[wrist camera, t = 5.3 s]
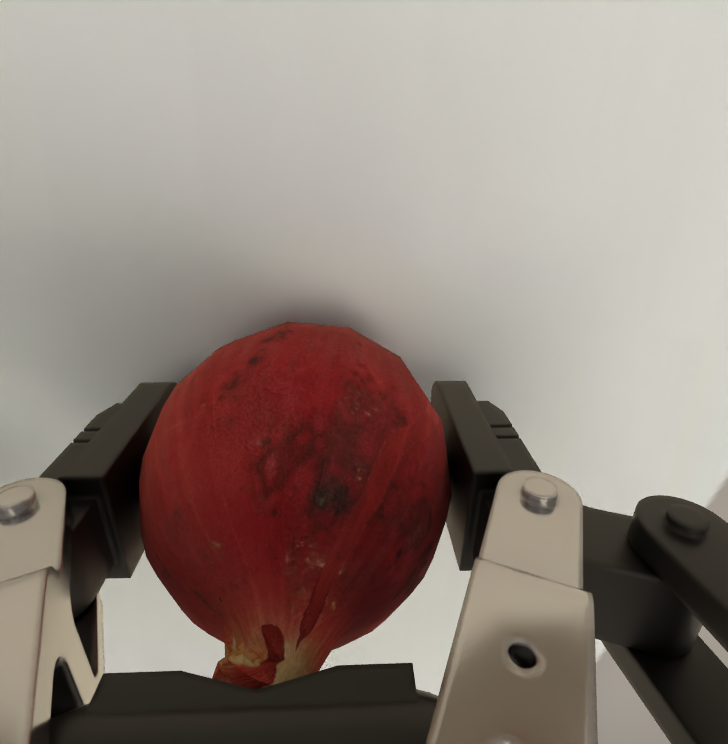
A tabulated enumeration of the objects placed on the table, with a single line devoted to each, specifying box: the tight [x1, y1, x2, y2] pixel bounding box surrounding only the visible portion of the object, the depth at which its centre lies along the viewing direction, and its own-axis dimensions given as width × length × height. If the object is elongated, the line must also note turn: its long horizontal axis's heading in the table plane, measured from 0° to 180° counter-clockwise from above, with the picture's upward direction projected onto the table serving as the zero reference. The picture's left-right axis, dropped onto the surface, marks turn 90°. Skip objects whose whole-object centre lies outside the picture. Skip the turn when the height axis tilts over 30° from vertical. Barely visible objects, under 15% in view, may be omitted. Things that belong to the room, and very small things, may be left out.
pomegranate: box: [139, 322, 452, 689], centre depth 9 cm, size 6×6×8 cm
